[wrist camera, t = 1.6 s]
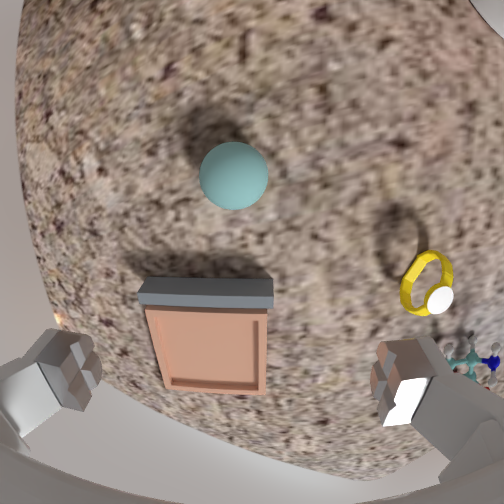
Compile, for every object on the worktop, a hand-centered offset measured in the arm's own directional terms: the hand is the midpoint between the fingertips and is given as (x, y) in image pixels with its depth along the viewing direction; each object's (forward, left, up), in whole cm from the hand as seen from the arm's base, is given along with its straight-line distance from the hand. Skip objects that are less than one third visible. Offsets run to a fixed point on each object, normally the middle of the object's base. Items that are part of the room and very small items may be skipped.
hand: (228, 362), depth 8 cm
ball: (-2, -1, -19) cm, 19 cm away
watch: (+7, +16, -19) cm, 26 cm away
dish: (+17, -5, -19) cm, 26 cm away
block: (+9, -4, -19) cm, 21 cm away
